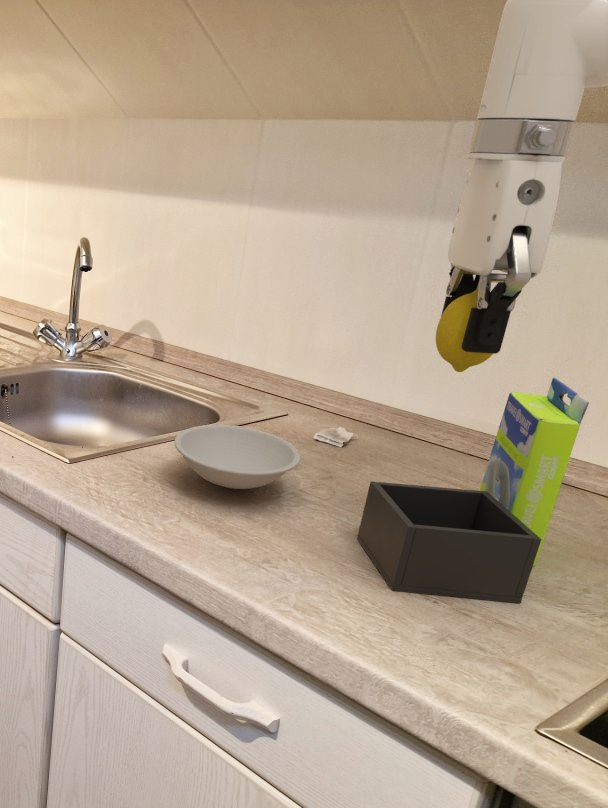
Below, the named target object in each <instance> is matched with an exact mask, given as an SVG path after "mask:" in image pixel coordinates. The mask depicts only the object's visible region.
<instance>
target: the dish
mask: <svg viewBox="0 0 608 808" xmlns="http://www.w3.org/2000/svg"><path fill="white" fill-rule="evenodd" d="M174 447H175V449H176V450H177V452H178V453H179V454H180V455H181V456H182V457H183V458H184V460H185V461H186V463H187V464H188V466H189V467H190V468H191V469H192V470H193V472H195V473H196V474H197V475H199V477H201V478H203V479H204V480H206V481H208V482H210V483H212V484H215V485H217V486H220V487H224V488H228V489H238V490H247V489H256V488H261V487H263V486H267V485H269V484H271V483H272V482H274V481H276V480H278V479H279V478H281V477H282V476H284V475H285V474H286V473H288V472H290V471H292V470H294V469H295V468H297V467H298V465H299V464H300V462H301V460H302V459H301V453H300V452H299V450H298V448H297V447H296V446H295V445H294V444H292V443H290V442H289V441H287V440H286V439H284V438H282V437H280V436H277V435H275V434H272V433H270V432H267V431H263V430H260V429H257V428H253V427H248V426H247V427H246V426H241V425H232V424H231V425H230V424H205V425H197V426H193V427H188V428H186V429H184V430H182V431H180V432H179V433H178V434H177V435H176V436H175V438H174Z"/></svg>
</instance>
